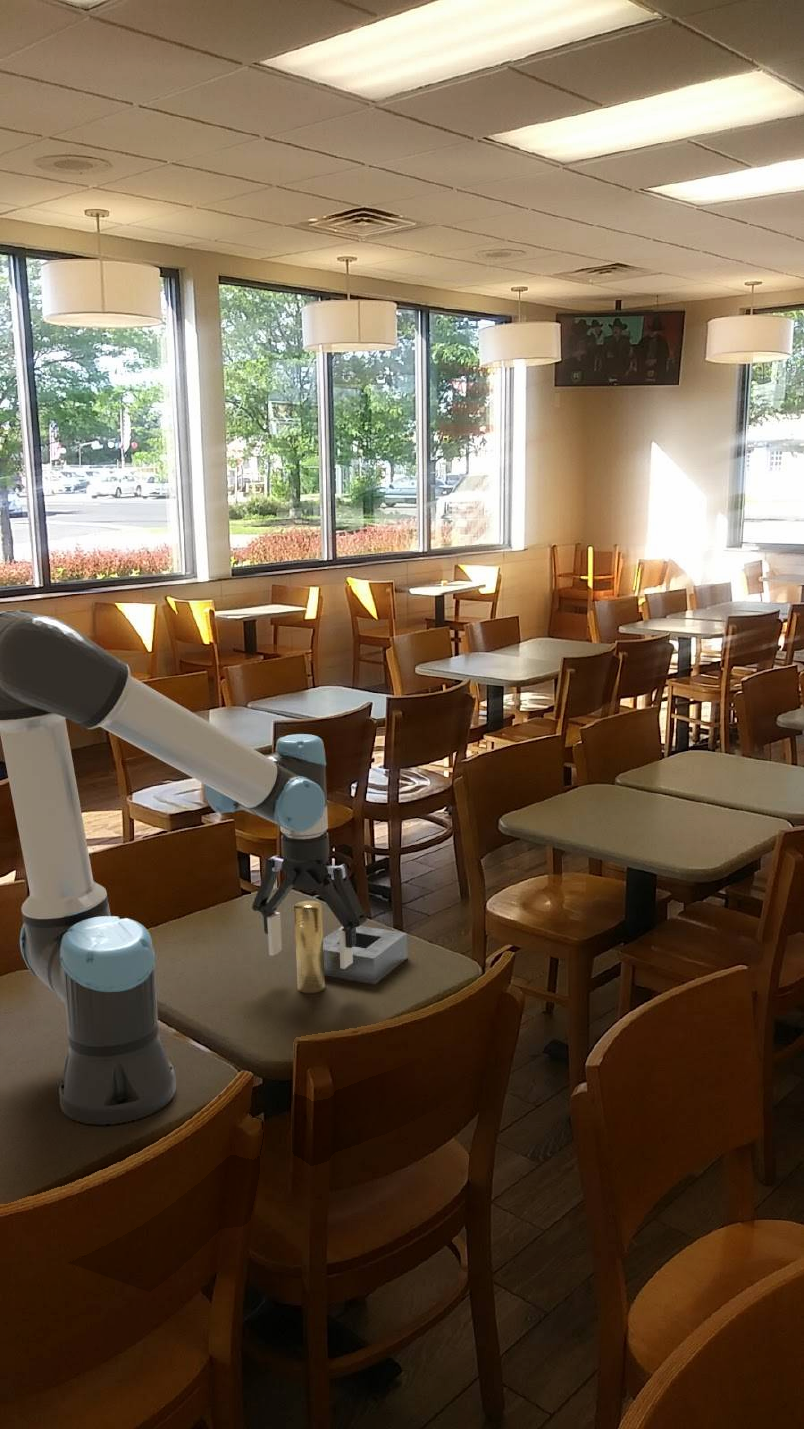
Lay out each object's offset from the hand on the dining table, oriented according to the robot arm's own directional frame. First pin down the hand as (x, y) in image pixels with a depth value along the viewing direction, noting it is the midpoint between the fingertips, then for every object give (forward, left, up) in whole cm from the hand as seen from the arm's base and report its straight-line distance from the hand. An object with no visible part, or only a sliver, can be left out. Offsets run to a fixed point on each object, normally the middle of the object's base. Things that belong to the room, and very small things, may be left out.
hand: (310, 959), depth 185 cm
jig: (+11, -3, -5) cm, 12 cm away
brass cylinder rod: (0, 0, -5) cm, 5 cm away
